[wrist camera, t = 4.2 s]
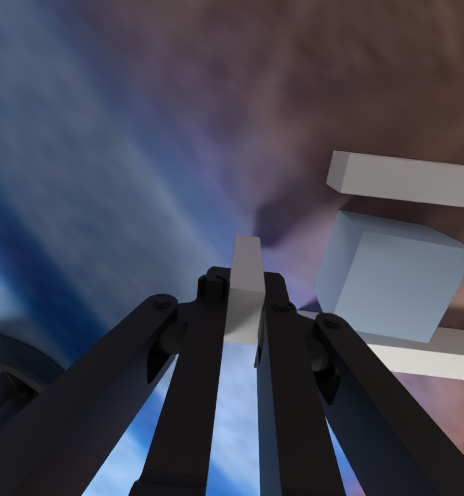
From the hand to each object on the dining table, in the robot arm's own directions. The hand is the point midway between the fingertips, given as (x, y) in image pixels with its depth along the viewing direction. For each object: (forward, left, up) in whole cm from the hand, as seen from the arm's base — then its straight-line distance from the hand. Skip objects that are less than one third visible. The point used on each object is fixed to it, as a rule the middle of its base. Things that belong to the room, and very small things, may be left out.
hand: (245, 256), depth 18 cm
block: (+8, 0, -2) cm, 9 cm away
